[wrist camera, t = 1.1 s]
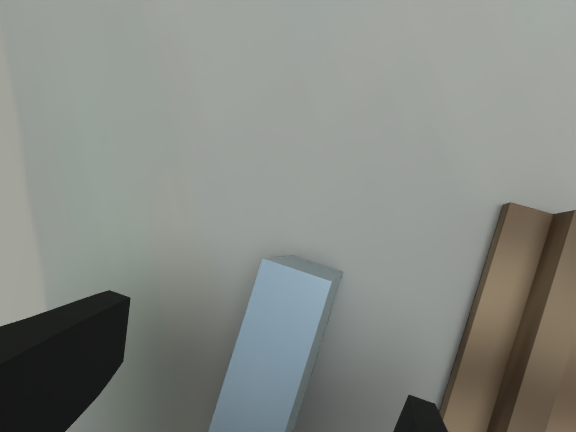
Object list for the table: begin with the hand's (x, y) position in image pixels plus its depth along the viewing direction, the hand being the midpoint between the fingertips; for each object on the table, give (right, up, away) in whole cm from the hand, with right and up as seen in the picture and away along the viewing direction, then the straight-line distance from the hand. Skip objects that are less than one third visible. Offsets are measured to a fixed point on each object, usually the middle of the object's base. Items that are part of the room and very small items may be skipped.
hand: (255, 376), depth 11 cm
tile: (+1, -3, +10) cm, 10 cm away
